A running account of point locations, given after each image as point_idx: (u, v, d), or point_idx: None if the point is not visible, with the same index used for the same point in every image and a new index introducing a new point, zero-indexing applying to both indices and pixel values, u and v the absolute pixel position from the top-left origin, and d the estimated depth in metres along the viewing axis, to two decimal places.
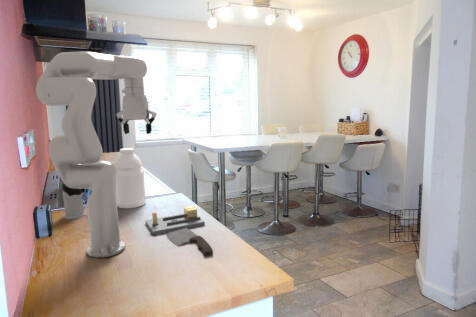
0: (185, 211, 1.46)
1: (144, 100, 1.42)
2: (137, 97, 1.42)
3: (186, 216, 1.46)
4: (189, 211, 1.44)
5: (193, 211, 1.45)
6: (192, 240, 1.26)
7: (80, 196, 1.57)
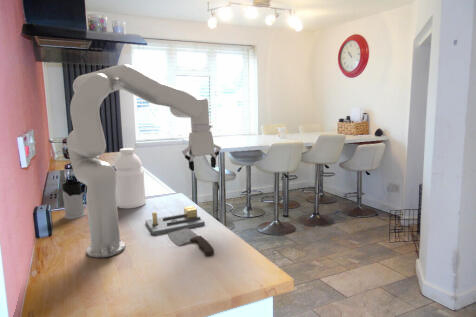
0: (185, 211, 1.46)
1: (189, 137, 1.44)
2: None
3: (186, 216, 1.46)
4: (189, 211, 1.44)
5: (193, 211, 1.45)
6: (193, 240, 1.26)
7: (80, 196, 1.57)
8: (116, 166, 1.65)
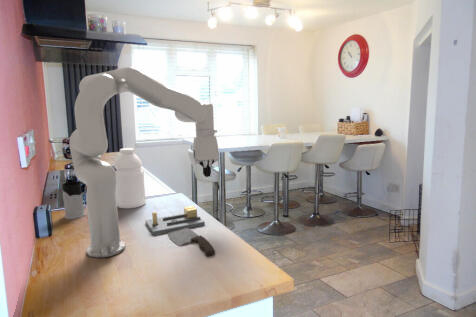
0: (185, 211, 1.46)
1: None
2: None
3: (186, 216, 1.46)
4: (189, 211, 1.44)
5: (193, 211, 1.45)
6: (193, 240, 1.26)
7: (80, 196, 1.57)
8: (116, 166, 1.65)
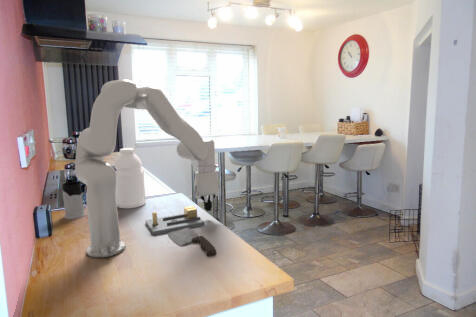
0: (185, 211, 1.46)
1: (195, 177, 1.47)
2: None
3: (186, 216, 1.46)
4: (189, 211, 1.44)
5: (193, 211, 1.45)
6: (194, 240, 1.26)
7: (80, 196, 1.57)
8: (116, 166, 1.65)
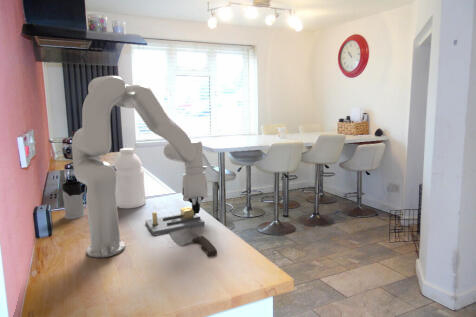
0: (182, 212, 1.46)
1: None
2: None
3: (183, 217, 1.45)
4: (185, 212, 1.43)
5: (190, 212, 1.44)
6: (195, 240, 1.25)
7: (80, 196, 1.57)
8: (116, 166, 1.65)
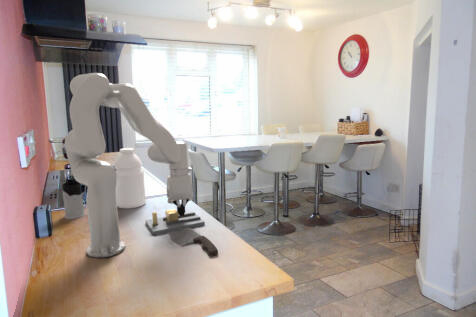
0: (166, 214, 1.43)
1: (167, 181, 1.42)
2: None
3: (167, 219, 1.42)
4: (170, 214, 1.40)
5: (174, 214, 1.41)
6: (196, 240, 1.25)
7: (80, 196, 1.57)
8: (116, 166, 1.65)
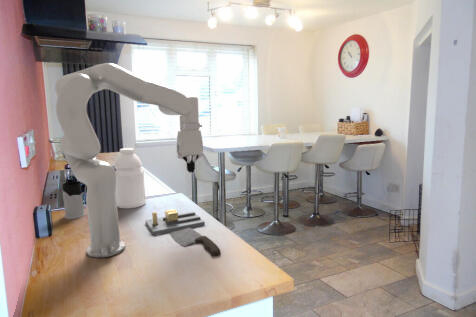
0: (166, 214, 1.43)
1: (177, 136, 1.40)
2: None
3: (167, 219, 1.42)
4: (170, 214, 1.40)
5: (174, 214, 1.41)
6: (198, 240, 1.25)
7: (80, 196, 1.57)
8: (116, 166, 1.65)
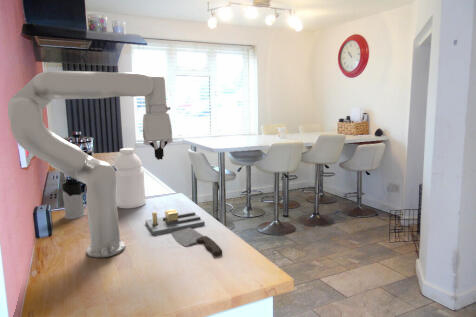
0: (166, 214, 1.43)
1: (143, 120, 1.28)
2: None
3: (167, 219, 1.42)
4: (170, 214, 1.40)
5: (174, 214, 1.41)
6: (199, 241, 1.25)
7: (80, 196, 1.57)
8: (116, 166, 1.65)
